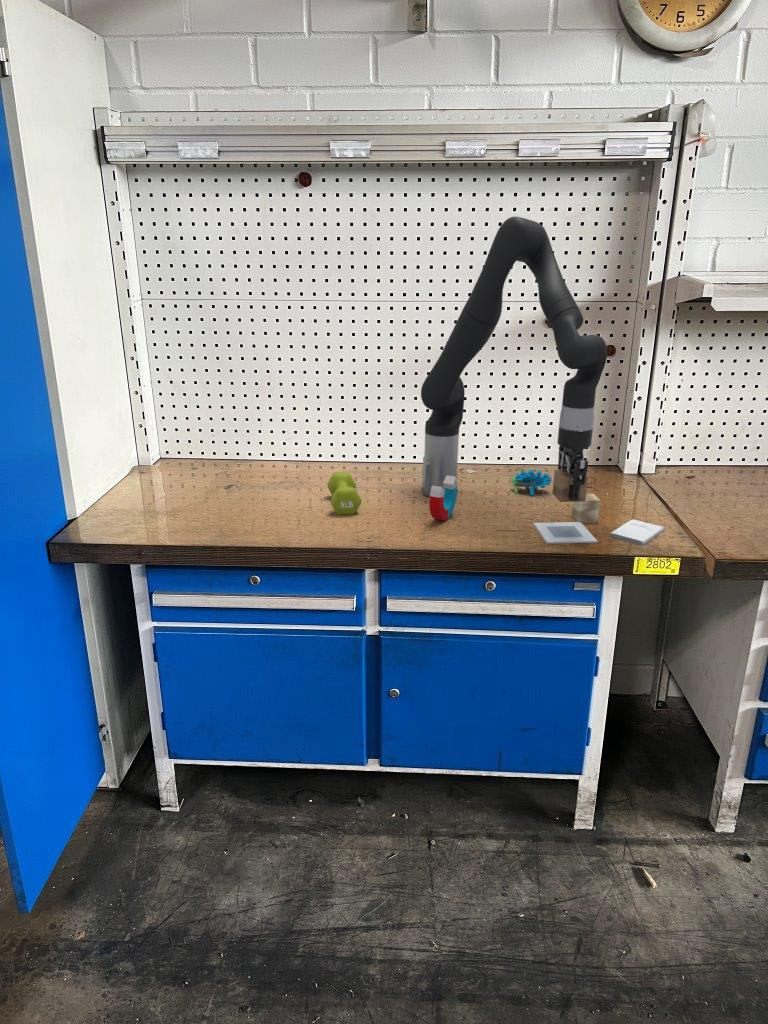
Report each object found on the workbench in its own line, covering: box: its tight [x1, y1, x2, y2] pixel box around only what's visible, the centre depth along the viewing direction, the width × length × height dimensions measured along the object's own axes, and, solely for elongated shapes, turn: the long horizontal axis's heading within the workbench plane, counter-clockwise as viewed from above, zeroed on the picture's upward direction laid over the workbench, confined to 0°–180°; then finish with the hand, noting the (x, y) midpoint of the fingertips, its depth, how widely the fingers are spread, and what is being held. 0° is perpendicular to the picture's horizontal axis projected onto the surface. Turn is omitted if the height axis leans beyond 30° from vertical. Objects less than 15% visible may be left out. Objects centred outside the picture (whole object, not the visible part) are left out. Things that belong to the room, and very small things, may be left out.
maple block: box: [571, 493, 601, 524], centre depth 175 cm, size 5×5×6 cm
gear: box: [510, 469, 552, 497], centre depth 194 cm, size 11×6×10 cm
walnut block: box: [552, 469, 589, 503], centre depth 163 cm, size 6×6×6 cm
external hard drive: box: [609, 518, 665, 546], centre depth 167 cm, size 2×8×12 cm
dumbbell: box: [326, 471, 362, 516], centre depth 183 cm, size 16×8×7 cm, turn 8°
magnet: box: [428, 475, 458, 522], centre depth 174 cm, size 12×3×10 cm, turn 152°
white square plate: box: [532, 521, 599, 545], centre depth 167 cm, size 12×12×1 cm
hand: (568, 494), depth 164 cm, fingers closed on walnut block, 6 cm apart
